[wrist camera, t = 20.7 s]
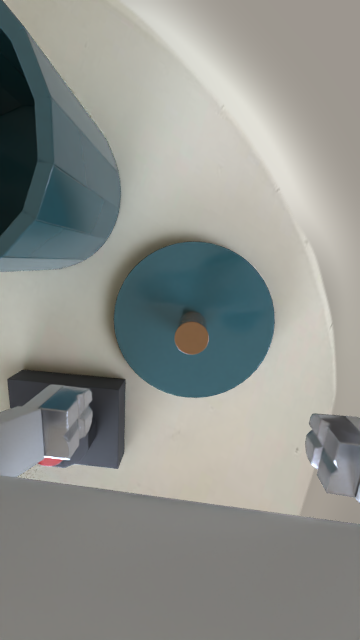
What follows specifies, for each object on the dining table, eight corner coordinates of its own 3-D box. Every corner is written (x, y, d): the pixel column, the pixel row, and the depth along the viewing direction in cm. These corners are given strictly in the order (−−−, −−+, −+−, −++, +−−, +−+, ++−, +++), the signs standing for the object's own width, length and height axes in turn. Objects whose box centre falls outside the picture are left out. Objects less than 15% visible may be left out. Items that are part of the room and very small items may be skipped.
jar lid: (282, 248, 22) (309, 244, 17) (258, 398, 25) (274, 432, 20) (118, 237, 22) (95, 229, 17) (116, 384, 26) (97, 414, 21)
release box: (125, 379, 25) (112, 400, 22) (124, 453, 28) (112, 484, 24) (22, 369, 26) (-8, 388, 22) (28, 442, 28) (1, 471, 24)
